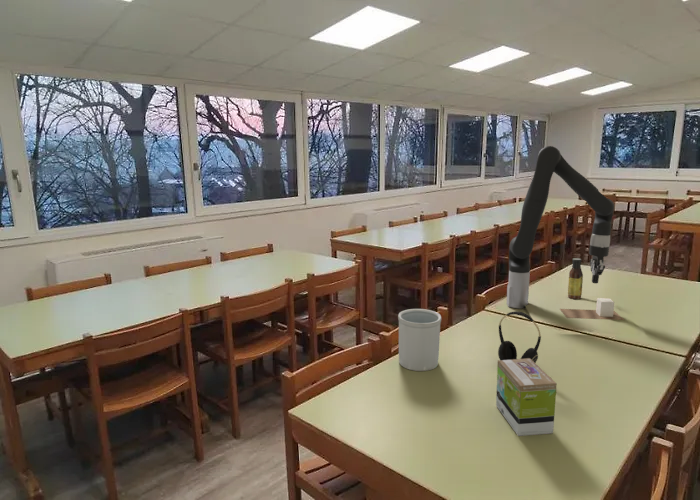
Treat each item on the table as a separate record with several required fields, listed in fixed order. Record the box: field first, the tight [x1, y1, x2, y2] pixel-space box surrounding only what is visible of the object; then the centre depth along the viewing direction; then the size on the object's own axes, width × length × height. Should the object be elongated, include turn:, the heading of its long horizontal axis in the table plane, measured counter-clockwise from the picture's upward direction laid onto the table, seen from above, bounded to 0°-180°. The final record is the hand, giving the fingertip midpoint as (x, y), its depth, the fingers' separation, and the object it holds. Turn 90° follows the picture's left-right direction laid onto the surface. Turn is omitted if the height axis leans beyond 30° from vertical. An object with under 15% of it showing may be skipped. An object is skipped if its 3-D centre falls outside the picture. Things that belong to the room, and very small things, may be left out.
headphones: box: [497, 310, 542, 364], centre depth 154 cm, size 9×15×20 cm, turn 43°
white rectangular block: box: [595, 297, 615, 317], centre depth 201 cm, size 5×5×7 cm
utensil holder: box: [397, 308, 442, 372], centre depth 160 cm, size 15×15×18 cm
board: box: [559, 308, 625, 321], centre depth 202 cm, size 23×12×2 cm, turn 80°
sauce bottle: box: [567, 257, 584, 300], centre depth 228 cm, size 6×6×20 cm
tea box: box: [495, 358, 557, 437], centre depth 125 cm, size 15×10×15 cm, turn 5°
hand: (594, 282), depth 203 cm, fingers closed
